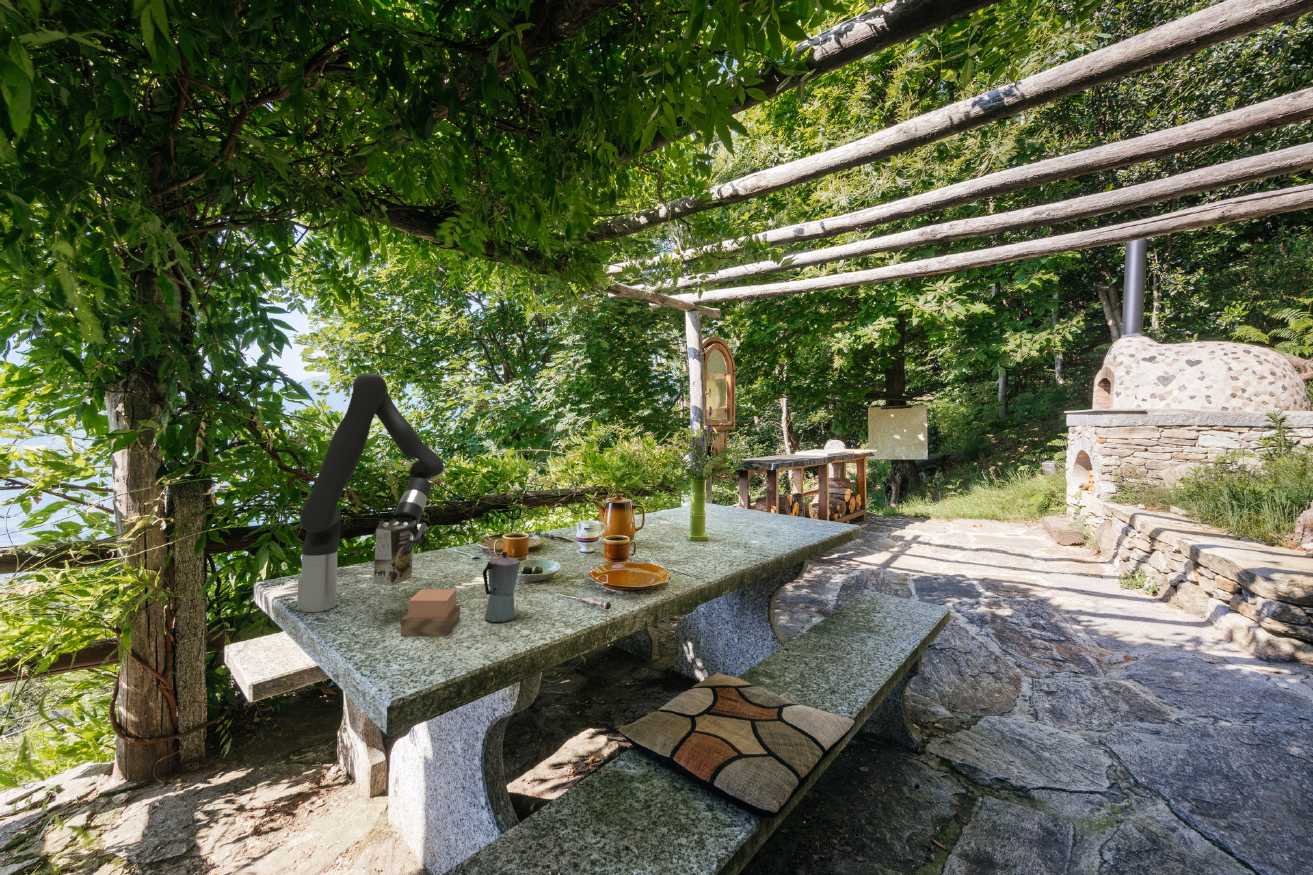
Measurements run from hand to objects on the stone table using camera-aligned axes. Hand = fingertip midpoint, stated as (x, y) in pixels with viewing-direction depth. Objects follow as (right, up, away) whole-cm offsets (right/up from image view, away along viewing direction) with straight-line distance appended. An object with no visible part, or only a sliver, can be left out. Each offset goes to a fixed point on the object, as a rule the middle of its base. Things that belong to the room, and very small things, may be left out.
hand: (392, 553), depth 152 cm
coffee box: (0, -9, +2) cm, 9 cm away
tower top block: (+14, -16, -4) cm, 21 cm away
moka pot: (+30, -21, +5) cm, 37 cm away
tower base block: (+13, -21, -4) cm, 25 cm away
